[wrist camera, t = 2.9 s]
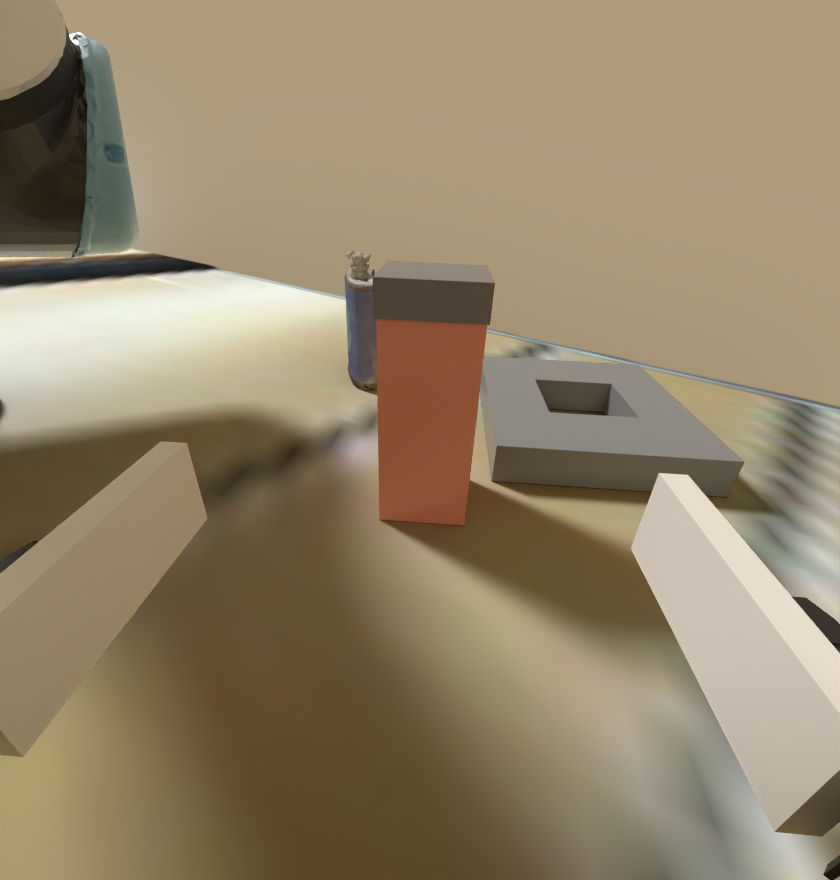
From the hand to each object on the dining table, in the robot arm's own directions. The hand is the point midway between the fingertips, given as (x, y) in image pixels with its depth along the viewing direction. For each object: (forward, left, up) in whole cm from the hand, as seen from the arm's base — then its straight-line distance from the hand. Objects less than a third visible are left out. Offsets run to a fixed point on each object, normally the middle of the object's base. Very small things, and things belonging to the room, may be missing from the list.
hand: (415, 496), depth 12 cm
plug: (0, +10, -7) cm, 12 cm away
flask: (-7, +29, -8) cm, 31 cm away
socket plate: (+11, +20, -7) cm, 24 cm away
